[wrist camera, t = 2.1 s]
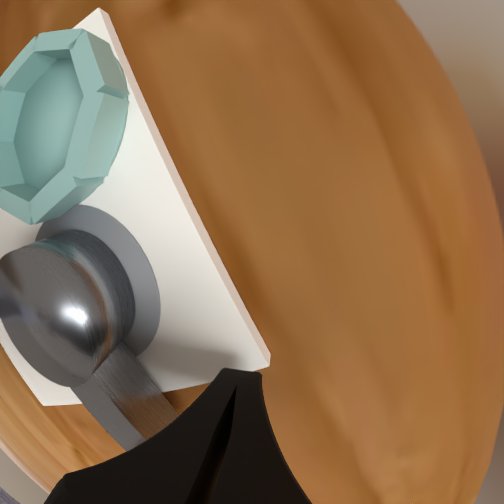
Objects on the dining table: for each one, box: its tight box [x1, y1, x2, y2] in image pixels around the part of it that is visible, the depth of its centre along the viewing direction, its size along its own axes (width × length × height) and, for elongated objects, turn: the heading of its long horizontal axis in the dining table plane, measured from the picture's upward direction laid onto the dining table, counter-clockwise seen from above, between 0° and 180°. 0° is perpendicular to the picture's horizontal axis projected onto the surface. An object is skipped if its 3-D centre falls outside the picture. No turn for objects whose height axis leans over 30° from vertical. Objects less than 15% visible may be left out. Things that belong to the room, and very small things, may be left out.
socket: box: [0, 28, 130, 225], centre depth 8 cm, size 7×7×2 cm
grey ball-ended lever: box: [0, 230, 180, 451], centre depth 9 cm, size 11×5×3 cm, turn 26°
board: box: [0, 8, 271, 406], centre depth 9 cm, size 17×16×5 cm
